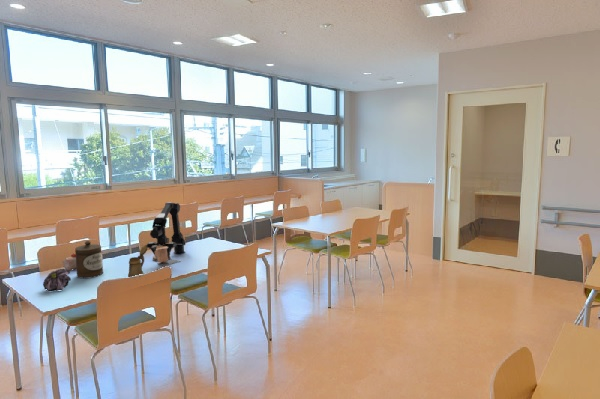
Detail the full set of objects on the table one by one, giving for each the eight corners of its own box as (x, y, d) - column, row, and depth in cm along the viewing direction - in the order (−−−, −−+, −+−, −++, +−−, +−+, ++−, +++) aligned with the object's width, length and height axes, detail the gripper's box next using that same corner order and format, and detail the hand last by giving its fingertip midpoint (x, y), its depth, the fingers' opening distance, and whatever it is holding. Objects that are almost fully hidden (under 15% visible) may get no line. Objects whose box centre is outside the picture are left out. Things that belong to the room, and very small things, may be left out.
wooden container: (89, 279, 248) (86, 244, 245) (71, 276, 253) (68, 242, 250) (108, 272, 262) (105, 239, 259) (91, 270, 267) (88, 237, 264)
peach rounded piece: (161, 262, 283) (159, 249, 284) (170, 261, 282) (168, 248, 283) (152, 263, 271) (151, 249, 273) (161, 261, 270) (160, 248, 272)
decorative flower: (33, 276, 225) (56, 261, 237) (36, 291, 230) (59, 276, 243) (53, 285, 221) (75, 270, 234) (56, 300, 227) (78, 285, 239)
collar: (163, 255, 300) (163, 253, 300) (173, 258, 293) (173, 255, 293) (149, 259, 291) (149, 256, 290) (159, 262, 284) (159, 259, 283)
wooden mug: (152, 272, 259) (150, 245, 257) (132, 278, 249) (131, 250, 246) (144, 270, 265) (143, 243, 262) (125, 275, 254) (123, 248, 252)
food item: (67, 271, 264) (66, 257, 263) (62, 269, 269) (61, 255, 268) (89, 266, 275) (87, 252, 273) (83, 264, 280) (82, 250, 278)
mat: (172, 259, 290) (172, 259, 290) (180, 261, 284) (180, 261, 284) (157, 263, 279) (157, 263, 279) (165, 266, 274) (165, 265, 274)
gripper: (178, 232, 282) (179, 254, 284) (153, 232, 284) (154, 253, 286) (172, 236, 271) (173, 258, 273) (145, 235, 273) (147, 258, 275)
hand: (162, 257), depth 277 cm, fingers open, 8 cm apart
